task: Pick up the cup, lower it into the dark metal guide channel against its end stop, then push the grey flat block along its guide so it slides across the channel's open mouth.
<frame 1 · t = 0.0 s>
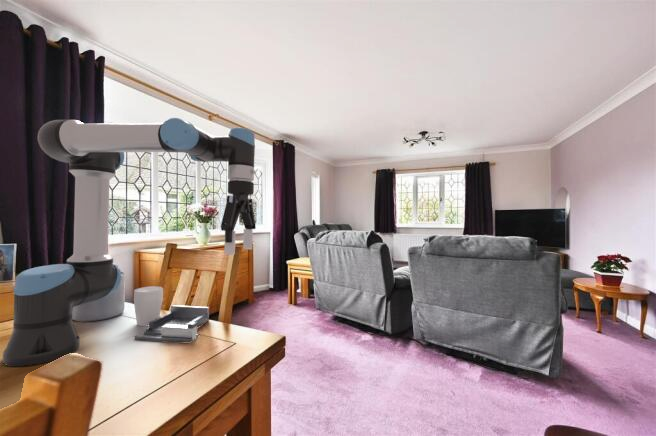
hand: (239, 251, 90), 28 cm above the table, fingers open, 13 cm apart
grey flat block: (179, 330, 93), point 3 cm above the table, slide at 0.0 cm
planter: (98, 316, 112), on the table
cup: (148, 323, 106), on the table
coupler rail: (179, 327, 103), on the table
pin guide: (167, 338, 93), on the table
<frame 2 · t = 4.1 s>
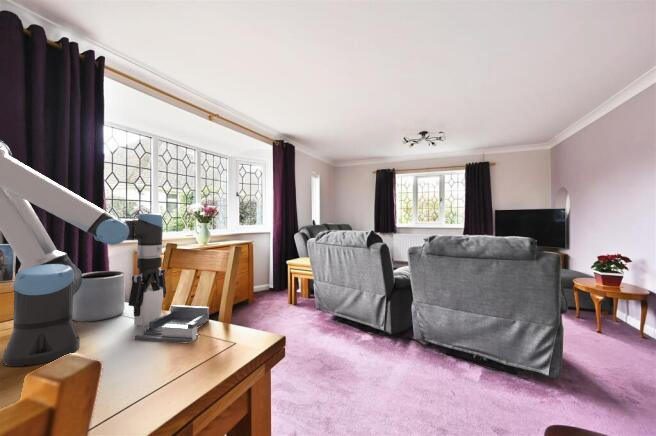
hand: (148, 320, 106), 1 cm above the table, fingers closed on cup, 9 cm apart
cup: (148, 323, 106), on the table, touching gripper
everything else where it was.
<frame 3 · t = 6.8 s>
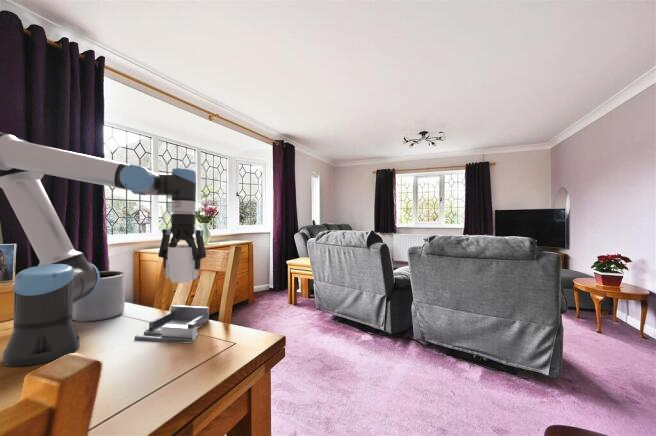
hand: (181, 278, 103), 17 cm above the table, fingers closed on cup, 9 cm apart
cup: (181, 281, 103), point 16 cm above the table, touching gripper
everything else where it was.
when the fingers open (4 cm above the table, at t = 9.6 s): cup drops 2 cm, resting on coupler rail.
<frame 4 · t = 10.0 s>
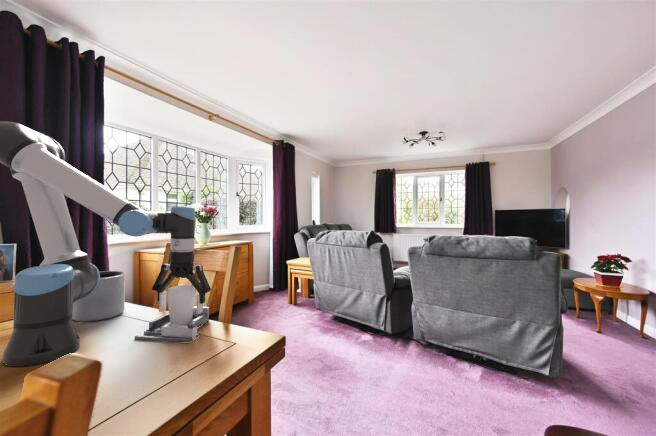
hand: (180, 311, 103), 5 cm above the table, fingers open, 13 cm apart
cup: (180, 323, 103), point 1 cm above the table, touching coupler rail
everything else where it was.
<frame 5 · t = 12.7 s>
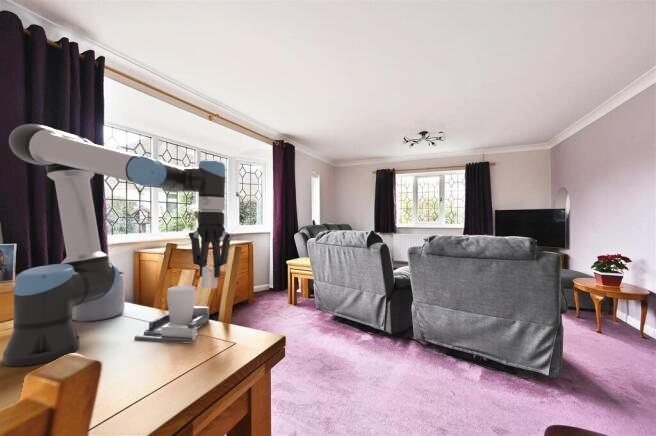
hand: (209, 287, 92), 16 cm above the table, fingers open, 2 cm apart
nothing on the table moved.
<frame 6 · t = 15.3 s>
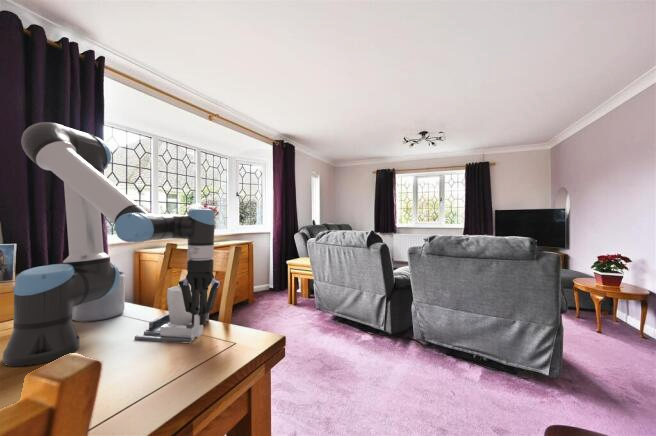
hand: (198, 334, 92), 2 cm above the table, fingers closed
grey flat block: (178, 330, 93), point 3 cm above the table, slide at 0.5 cm, touching gripper
everything else where it was.
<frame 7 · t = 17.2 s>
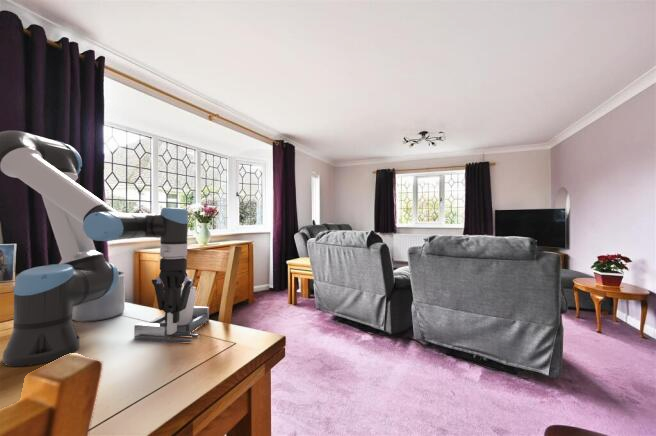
hand: (171, 332, 93), 2 cm above the table, fingers closed
grey flat block: (152, 329, 93), point 3 cm above the table, slide at 9.1 cm
everything else where it was.
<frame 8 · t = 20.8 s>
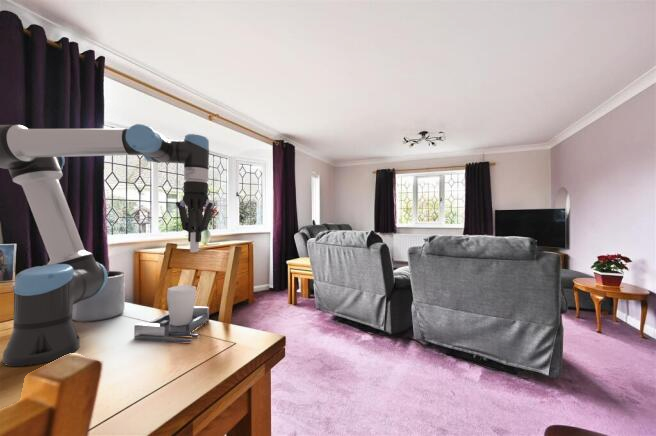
hand: (194, 251, 100), 26 cm above the table, fingers closed
nothing on the table moved.
at the end: cup inside the target area on the coupler rail (0.5 cm from its centre), point 1.0 cm above the coupler rail's base; cup tilted 0°; grey flat block slide at 9.1 cm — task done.
